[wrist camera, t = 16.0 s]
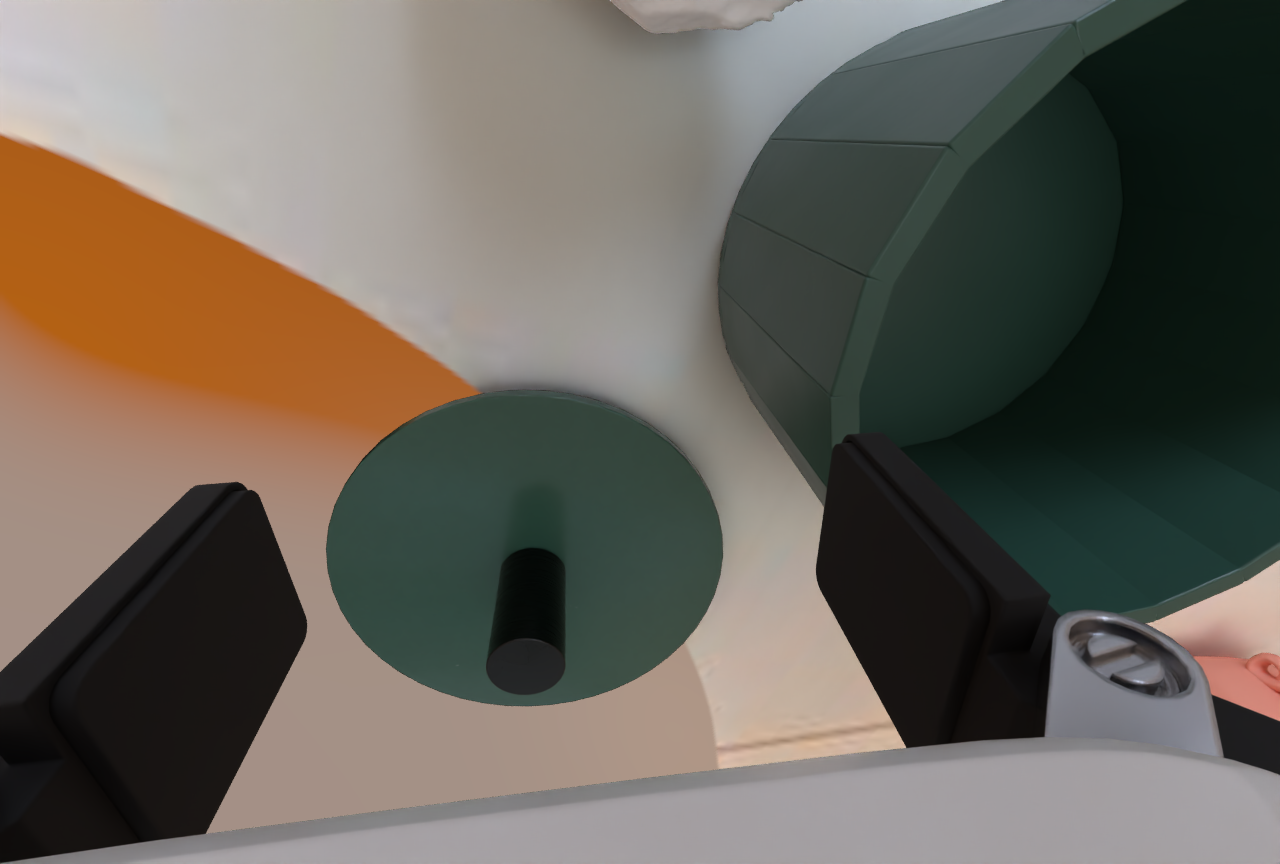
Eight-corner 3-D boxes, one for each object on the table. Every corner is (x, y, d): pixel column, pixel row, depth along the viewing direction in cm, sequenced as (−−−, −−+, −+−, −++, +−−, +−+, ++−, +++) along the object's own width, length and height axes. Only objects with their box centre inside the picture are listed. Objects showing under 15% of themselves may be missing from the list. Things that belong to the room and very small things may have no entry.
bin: (629, 285, 23) (678, 407, 13) (994, -112, 19) (1508, -404, 9) (875, 514, 30) (1037, 716, 19) (1189, 259, 25) (1613, 345, 15)
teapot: (1265, 698, 41) (1452, 849, 32) (1099, 770, 43) (1234, 932, 34) (1258, 594, 36) (1478, 740, 27) (1069, 681, 37) (1219, 844, 29)
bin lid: (257, 580, 28) (172, 704, 22) (500, 294, 23) (476, 351, 17) (557, 731, 34) (555, 856, 28) (790, 534, 30) (846, 635, 24)
